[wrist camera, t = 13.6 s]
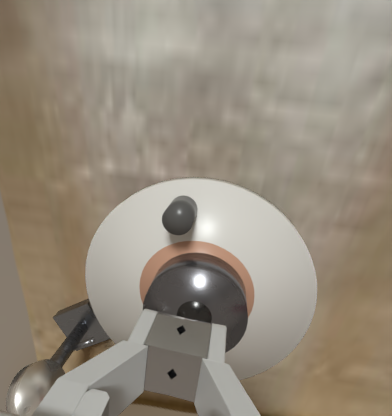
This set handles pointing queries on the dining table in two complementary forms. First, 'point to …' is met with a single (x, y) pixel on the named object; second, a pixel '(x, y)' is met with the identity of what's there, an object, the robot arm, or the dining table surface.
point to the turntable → (214, 245)
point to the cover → (201, 293)
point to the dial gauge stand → (54, 358)
